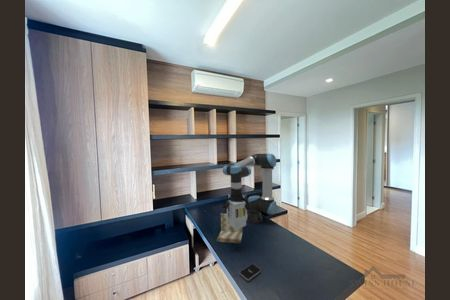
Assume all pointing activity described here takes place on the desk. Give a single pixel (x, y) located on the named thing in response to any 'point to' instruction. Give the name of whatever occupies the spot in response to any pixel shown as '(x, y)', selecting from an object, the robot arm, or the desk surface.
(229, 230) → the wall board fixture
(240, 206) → the supplement box
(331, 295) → the desk surface
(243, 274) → the external hard drive
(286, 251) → the desk surface
